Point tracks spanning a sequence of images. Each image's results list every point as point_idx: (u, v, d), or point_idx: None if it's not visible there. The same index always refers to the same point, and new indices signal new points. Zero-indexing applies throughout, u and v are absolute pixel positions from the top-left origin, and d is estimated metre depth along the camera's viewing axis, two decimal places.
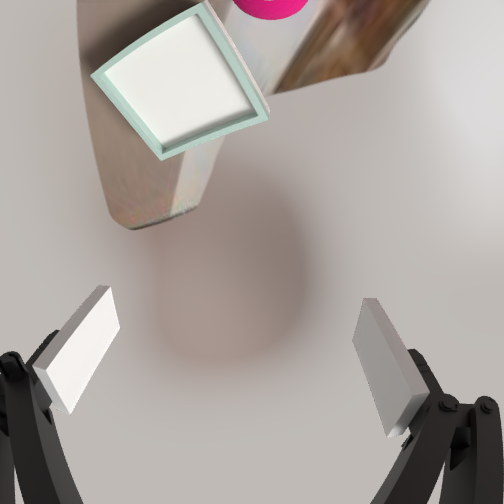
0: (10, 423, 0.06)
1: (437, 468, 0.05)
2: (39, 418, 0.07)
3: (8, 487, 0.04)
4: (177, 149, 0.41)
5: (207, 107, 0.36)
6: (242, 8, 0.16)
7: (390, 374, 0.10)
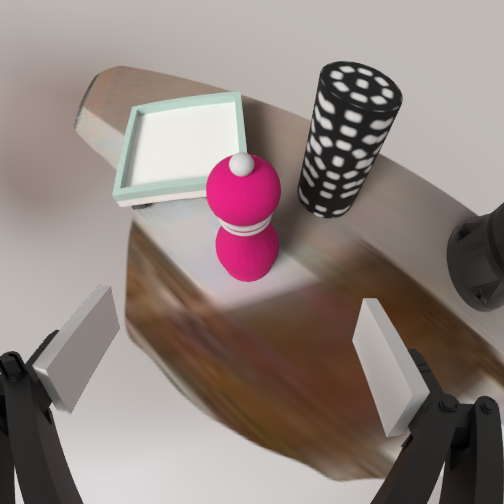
0: (10, 423, 0.06)
1: (437, 468, 0.05)
2: (39, 418, 0.07)
3: (8, 487, 0.04)
4: (132, 120, 0.41)
5: (150, 155, 0.39)
6: None
7: (390, 374, 0.10)
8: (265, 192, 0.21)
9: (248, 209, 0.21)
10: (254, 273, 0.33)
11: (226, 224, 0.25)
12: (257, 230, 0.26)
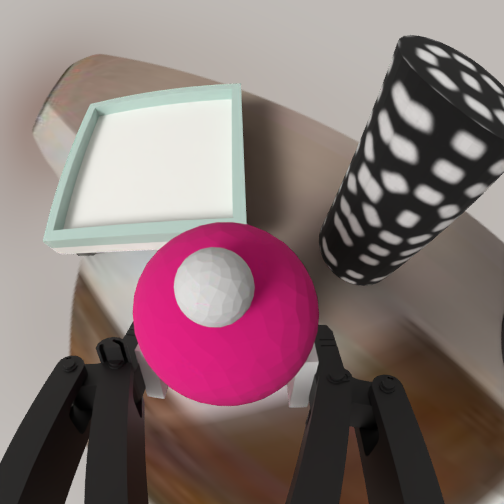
0: (96, 411, 0.07)
1: (342, 441, 0.07)
2: (131, 412, 0.08)
3: (63, 485, 0.06)
4: (85, 123, 0.27)
5: (102, 177, 0.25)
6: (193, 228, 0.09)
7: None
8: (282, 360, 0.07)
9: (234, 398, 0.07)
10: None
11: None
12: None
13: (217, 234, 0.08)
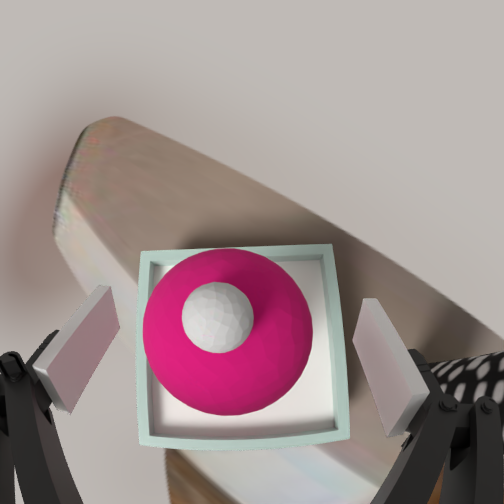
0: (10, 423, 0.06)
1: (437, 468, 0.05)
2: (39, 418, 0.07)
3: (8, 487, 0.04)
4: (144, 289, 0.25)
5: None
6: (196, 255, 0.10)
7: (390, 374, 0.10)
8: (279, 377, 0.08)
9: (237, 410, 0.08)
10: None
11: None
12: None
13: (219, 263, 0.09)
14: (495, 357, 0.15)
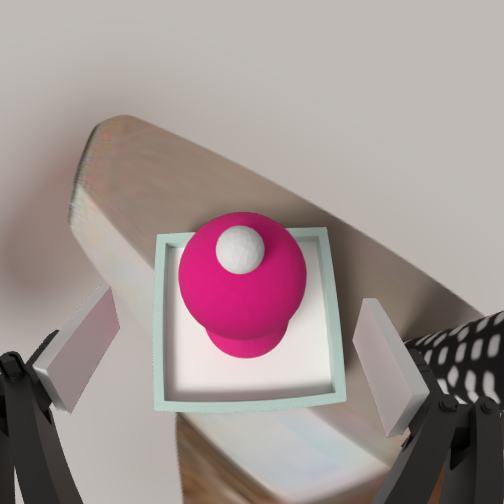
0: (10, 423, 0.06)
1: (437, 468, 0.05)
2: (39, 418, 0.07)
3: (8, 487, 0.04)
4: (161, 267, 0.29)
5: (198, 339, 0.28)
6: (219, 217, 0.14)
7: (390, 374, 0.10)
8: (283, 299, 0.12)
9: (252, 328, 0.12)
10: (255, 356, 0.23)
11: None
12: None
13: (238, 219, 0.13)
14: (474, 322, 0.19)
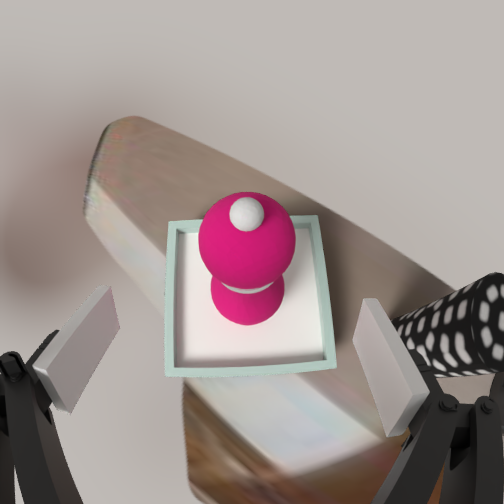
0: (10, 423, 0.06)
1: (437, 468, 0.05)
2: (39, 418, 0.07)
3: (8, 487, 0.04)
4: (172, 249, 0.34)
5: (205, 312, 0.32)
6: (230, 195, 0.18)
7: (390, 374, 0.10)
8: (277, 252, 0.16)
9: (254, 274, 0.16)
10: (255, 322, 0.27)
11: None
12: (262, 287, 0.21)
13: (244, 196, 0.17)
14: (448, 295, 0.23)
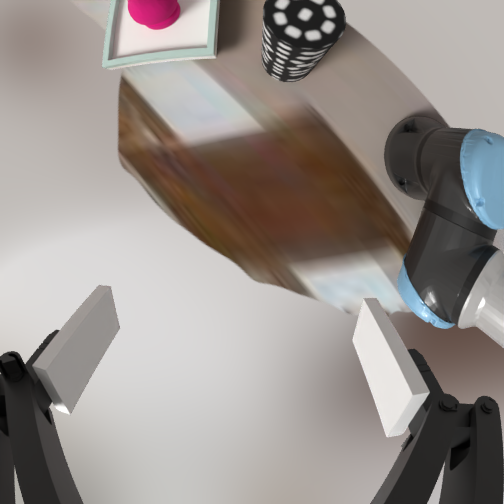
0: (10, 423, 0.06)
1: (437, 468, 0.05)
2: (39, 418, 0.07)
3: (8, 488, 0.04)
4: None
5: (133, 26, 0.34)
6: None
7: (390, 374, 0.10)
8: None
9: None
10: (153, 22, 0.30)
11: None
12: None
13: None
14: None
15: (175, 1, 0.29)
